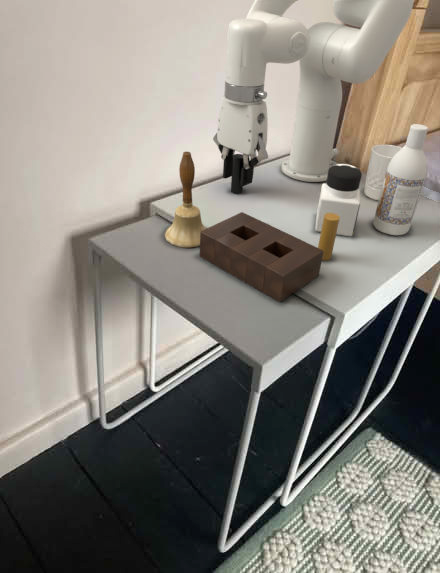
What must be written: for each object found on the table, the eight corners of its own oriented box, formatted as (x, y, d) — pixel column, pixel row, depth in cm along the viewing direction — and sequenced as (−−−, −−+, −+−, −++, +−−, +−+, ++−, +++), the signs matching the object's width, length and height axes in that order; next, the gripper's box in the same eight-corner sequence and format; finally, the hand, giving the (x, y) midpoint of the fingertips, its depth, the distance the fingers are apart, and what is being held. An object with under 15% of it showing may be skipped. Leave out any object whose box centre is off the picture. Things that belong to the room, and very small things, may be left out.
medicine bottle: (352, 237, 94) (366, 178, 87) (314, 232, 95) (325, 173, 88) (352, 219, 100) (365, 163, 93) (316, 215, 101) (326, 158, 93)
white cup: (354, 194, 109) (365, 150, 104) (371, 184, 114) (382, 141, 108) (387, 206, 105) (400, 161, 100) (403, 195, 110) (416, 151, 104)
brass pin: (321, 251, 89) (329, 211, 85) (333, 256, 88) (342, 216, 83) (313, 256, 88) (321, 216, 83) (325, 262, 86) (334, 221, 82)
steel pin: (236, 187, 109) (238, 152, 105) (245, 191, 108) (248, 156, 103) (228, 191, 108) (230, 155, 103) (237, 195, 106) (239, 159, 102)
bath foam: (377, 215, 102) (403, 117, 90) (411, 225, 99) (443, 125, 87) (368, 229, 97) (394, 127, 85) (404, 240, 94) (436, 136, 82)
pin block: (199, 256, 86) (200, 231, 83) (239, 235, 92) (241, 211, 89) (279, 302, 77) (284, 276, 74) (318, 275, 83) (324, 250, 80)
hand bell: (183, 253, 87) (184, 166, 77) (155, 233, 91) (153, 150, 82) (219, 238, 91) (223, 155, 82) (190, 220, 96) (192, 140, 87)
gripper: (290, 98, 93) (279, 188, 104) (225, 79, 102) (220, 164, 113) (265, 106, 89) (256, 199, 99) (199, 85, 98) (197, 172, 108)
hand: (237, 179), depth 106 cm, fingers open, 4 cm apart
